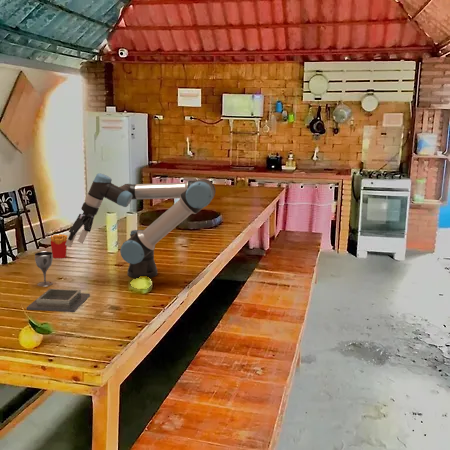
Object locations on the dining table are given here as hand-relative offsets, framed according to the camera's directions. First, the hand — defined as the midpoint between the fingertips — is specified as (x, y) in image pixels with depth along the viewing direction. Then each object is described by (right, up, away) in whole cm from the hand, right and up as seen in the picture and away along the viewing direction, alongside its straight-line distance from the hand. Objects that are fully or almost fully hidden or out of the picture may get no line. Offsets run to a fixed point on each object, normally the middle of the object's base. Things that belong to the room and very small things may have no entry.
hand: (74, 244), depth 248 cm
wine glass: (-13, -19, -3) cm, 23 cm away
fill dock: (+1, -24, -26) cm, 36 cm away
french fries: (-21, -9, +44) cm, 50 cm away
